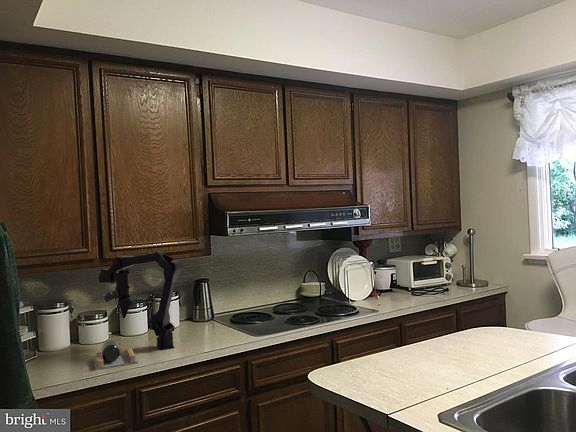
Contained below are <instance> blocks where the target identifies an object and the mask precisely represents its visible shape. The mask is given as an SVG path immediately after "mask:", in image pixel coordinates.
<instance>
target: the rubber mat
mask: <svg viewBox="0 0 576 432" xmlns="http://www.w3.org/2000/svg"><path fill="white" fill-rule="evenodd" d="M102 358H103V357H102ZM103 364H104V367H102V368H98V365H97V360H96V358H93V365H94V370H95V371H97V370H98V371H99V370H103V369H104V370H105V369H110V368H116V367H124V366H129V365H134V364H136V365H137V364H139V361H138V358H137V356H136V355H135V362H133V363H130V361H129V359H128V356H127V353H126V354H121V355H119V357H118V358H117V359H116V360H115V361H113V362H109V361H106V360H104V358H103Z"/></svg>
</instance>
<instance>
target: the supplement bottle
mask: <svg viewBox="0 0 576 432" xmlns="http://www.w3.org/2000/svg"><path fill="white" fill-rule="evenodd" d="M101 354H102V358H104V360H106V361H109V362H113V361H115V360H116V359H117V358H118V357H119V355H120V354H121V351H120V346H119V343H118V342H117V341H115V340H114V339H109V340H106V341H105V342H104V343H103V344H102V345H101Z"/></svg>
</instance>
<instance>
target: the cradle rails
mask: <svg viewBox="0 0 576 432" xmlns="http://www.w3.org/2000/svg"><path fill="white" fill-rule="evenodd" d="M125 350H126V351H125V352H126V354H127V356H128V359H129V361H130V363H133V362H135V356H136V355H135V352H134V351H133V348H132V347H128V348H126V349H125ZM95 359H96V360H97V365H98V368H102V367H104V364H103V356H102V351H101V352H95Z"/></svg>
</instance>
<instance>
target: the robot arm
mask: <svg viewBox="0 0 576 432" xmlns="http://www.w3.org/2000/svg"><path fill="white" fill-rule="evenodd" d="M150 262H156V263H157V264H158V266H159V267H160V268H161V269H162V270H163V279H164V283H163V287H162V292H161V296H160V301H159V305H158V310H157V311H156V312H154V313H152V315H151V321H150V322H149V323H150V326H151V328H152V330H153V332H154V335H155V336H156V337H155V341H156V342H155V344H156V348H158V350H160V351H161V350H167V349H168V348H169V349H173V348H175V346H174V336H173V335H174V334H173V332H174V331H175V329H176V327H175V325H174V324H173V323H172V322H171V321H170V320H171V316H170V312H169V311H170V307H171V302H172V298H173V295H174V289H175V284H176V281H177V280H178V278H179V276H180V275H181V271H182V269H183V264H182V262H180V261H179V260H177V259H175V258H173V257H171V256H169V255H167V254H166V253H165V252H163V251H156V252H152V253H145V254H141V255H122V256H117V257H114V259H113V260H112V264H111V266H110V267H109V269H108V268H101V270H100V273H99V275H98V282H99V284H102V285H106V284H107V285H113V284H115V286H114V289H112V290H110V291H108V292H105V293H103V294H102V296H103V300H104V301H105V303H108V302H110V301H112V300H114V301H116V302H115V304H116V306H117V307H119V309H120V310H119V311H120V313H121V317H122V318H123V319H126V316H127V314H128V312H129V310H130V309H129V308H130V307H131V305H133V304H134V303H133V299H132V298H131V294H130V288H131V287H130V275H131V274H132V275H133V273H134V271H133V270H131V268H130V267H132V266H135V265H138V264H144V263H145V264H146V263H150ZM123 269H124V270H123Z"/></svg>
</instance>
